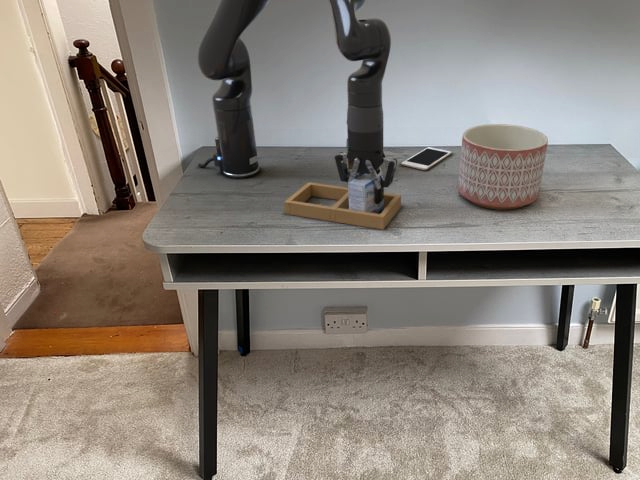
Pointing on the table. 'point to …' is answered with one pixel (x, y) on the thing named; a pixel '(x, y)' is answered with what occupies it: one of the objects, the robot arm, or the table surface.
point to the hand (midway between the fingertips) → (366, 200)
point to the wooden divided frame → (339, 206)
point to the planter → (501, 165)
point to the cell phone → (426, 158)
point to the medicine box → (363, 195)
